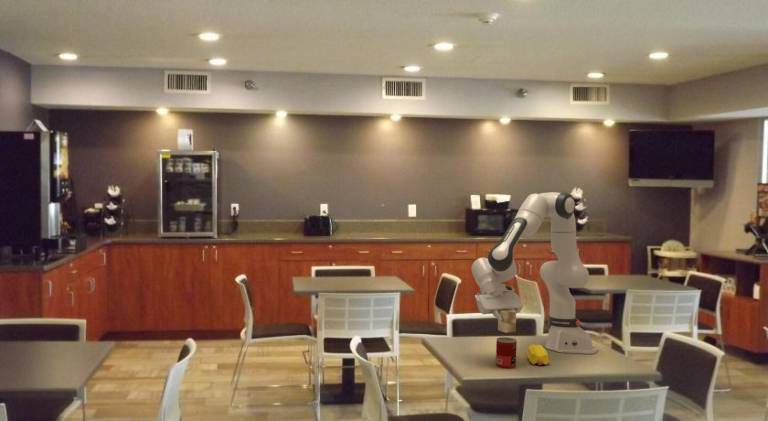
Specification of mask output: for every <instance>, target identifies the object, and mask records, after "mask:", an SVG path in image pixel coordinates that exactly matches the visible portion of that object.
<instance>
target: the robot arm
mask: <svg viewBox="0 0 768 421" xmlns="http://www.w3.org/2000/svg"><path fill="white" fill-rule="evenodd" d="M575 209H576V201H575V198H574V197H573V195H572V194H569V193H567V192H558V191H557V192H556V191H551V192H536V193H531V194H529V195H528V196H527V197H526V198H525V200H523V203H522V204H521V206H520V207H519V209H518V211H517V213H516V215H515V217H514V219H513V220H512V222H511V223H510V224H509V226H508V227H507V229H506V231H505V232H504V234H503V236H501V239H500V240H499V242H498V243H497V244H495V245H494V246H493V247H492V248H491V249H490V251H489V252H488V254H487V257H479V258H477V259H476V260H475V261H473V263H472V265H471V274H472V276H473V279H474V280H475V282H476V284H477V286H478V287H479V290H480V293H478V292H477V293H476V294H475V295H474V299H475V302H476V305H477V308H478V311H479V313H480V314H481V315H491V314H492V316H493V317H494V318H496V319H497V322H498V321H499V322H502V321H503V320H504V318H503V316H500V315H499V314H498V311H499V310H511V311H515V312H516V313H519V312H520V311H521V310H522V309H523V307H524V303H523V302H522V300H521V298H520V297H519V295H518V294H517V293H516V292H515V291H516V290H515V287H514V286H510V285H508V284H504V283H506V282H510V281H512V280H513V279H514V278H515V277H516V276H517V273H518V267H517V265H516V262H515V259H514V249H515V247H516V245H517V244H518V242H519V241H520V239H521V238H522V236H523V237H531V236H533V235H535V234H536V233H537V231H538V230H539V228H540V227H541V226H542V223H543V221H544V219H545V218H550V219H551V220H550V248H551V250H552V252H553V253H554V254H555V255H556V257H557V260H550V261H546V262H544V263H542V265H541V267H540V270H539V275H540V276H539V277H540V278H541V280H543V282H544V284H545V286H546V288H547V291H548V294H549V295H548V296H549V309H550V310H549V317H548V335H547V340H546V343H545V349H546V350H547V349H548V350H551V351H555V352H558V353H568V354H583V355H584V354H586V355H588V354H589V355H593V354H596V353H597V352H598V348H597V347H596V346H593V341H592V337H591V335H590V334H589V333H588V332H586V331H585V330H584V329H583V328H581V327H580V324H581V321H580V319H579V318H577V317H576V305H577V302H576V298H575V297H573V294H572V293H571V292H570V289H580V288H584V287H585V286H587V284H588V283H589V279H590V274H589V273H590V272H589V270H588V268H587V267H586V266H585V265H584V263H583V262H582V261H581V258H580V255H579V252H578V245H577V223H576V217H575V214H574V212H575Z"/></svg>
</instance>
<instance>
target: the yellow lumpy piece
mask: <svg viewBox="0 0 768 421" xmlns="http://www.w3.org/2000/svg"><path fill="white" fill-rule="evenodd" d="M526 356H527V357H528V361H529V363H531V364H532V365H533V366H534V365H536V364H537V365H538V366H542V365H543V366H547V365H548V364H549V363H550V360H549V354H548V351H547V349H546V348H544V347H543V346H542V345H541V344H533V343H532V344H530V345H529V346H528V348H527V352H526Z"/></svg>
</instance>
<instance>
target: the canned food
mask: <svg viewBox="0 0 768 421" xmlns="http://www.w3.org/2000/svg"><path fill="white" fill-rule="evenodd" d="M517 346H518V345H517V339H516V338H513V337H504V336H501V337H496V347H495V365H496V367H497V368H499V369H515V368H516V365H517Z"/></svg>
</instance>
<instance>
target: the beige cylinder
mask: <svg viewBox="0 0 768 421" xmlns="http://www.w3.org/2000/svg"><path fill="white" fill-rule="evenodd" d="M498 314H499V315H500V316H503V318H504V320H503V321H502V322H499V321H498V320H497V331H499V332H502V333H516V329H517V328H516V327H517V312H515V311H511V310H499V311H498Z"/></svg>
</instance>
